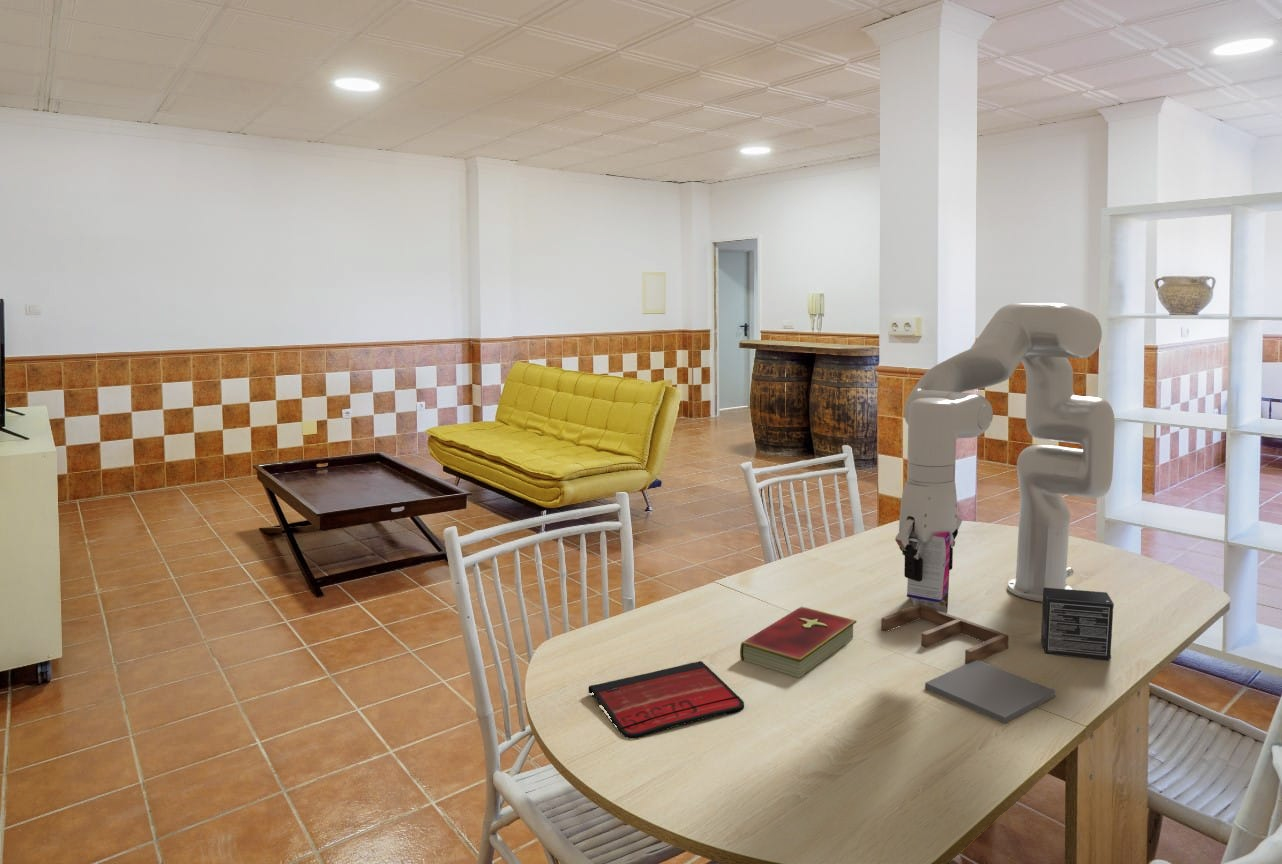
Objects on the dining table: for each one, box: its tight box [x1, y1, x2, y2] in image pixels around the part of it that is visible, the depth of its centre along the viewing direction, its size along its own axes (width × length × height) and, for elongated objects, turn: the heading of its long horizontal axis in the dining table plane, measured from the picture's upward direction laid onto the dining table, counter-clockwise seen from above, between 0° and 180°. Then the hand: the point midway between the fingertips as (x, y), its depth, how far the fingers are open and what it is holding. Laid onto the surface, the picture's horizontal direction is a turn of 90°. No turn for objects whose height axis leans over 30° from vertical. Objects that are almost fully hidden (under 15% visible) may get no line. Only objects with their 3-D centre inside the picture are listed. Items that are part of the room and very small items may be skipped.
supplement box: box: [906, 532, 951, 603], centre depth 140 cm, size 6×6×12 cm
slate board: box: [924, 660, 1057, 725], centre depth 133 cm, size 14×14×1 cm
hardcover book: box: [739, 606, 857, 678], centre depth 151 cm, size 12×21×4 cm, turn 140°
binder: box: [588, 660, 745, 739], centre depth 132 cm, size 16×2×21 cm
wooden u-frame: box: [880, 604, 1010, 665], centre depth 153 cm, size 12×19×2 cm, turn 35°
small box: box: [1040, 588, 1115, 661], centre depth 147 cm, size 11×6×10 cm, turn 71°
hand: (928, 572), depth 141 cm, fingers closed on supplement box, 7 cm apart
